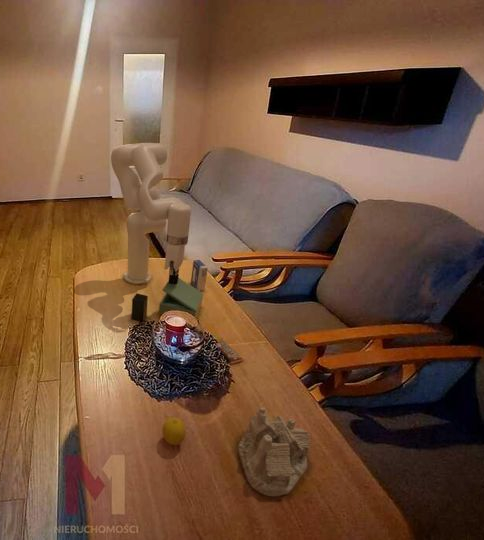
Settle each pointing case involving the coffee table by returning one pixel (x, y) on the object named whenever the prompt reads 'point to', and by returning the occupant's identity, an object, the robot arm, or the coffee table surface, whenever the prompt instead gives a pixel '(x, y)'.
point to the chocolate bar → (228, 353)
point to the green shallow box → (176, 305)
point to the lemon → (174, 431)
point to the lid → (184, 294)
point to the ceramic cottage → (273, 454)
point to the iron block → (139, 307)
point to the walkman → (199, 275)
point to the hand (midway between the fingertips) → (173, 282)
